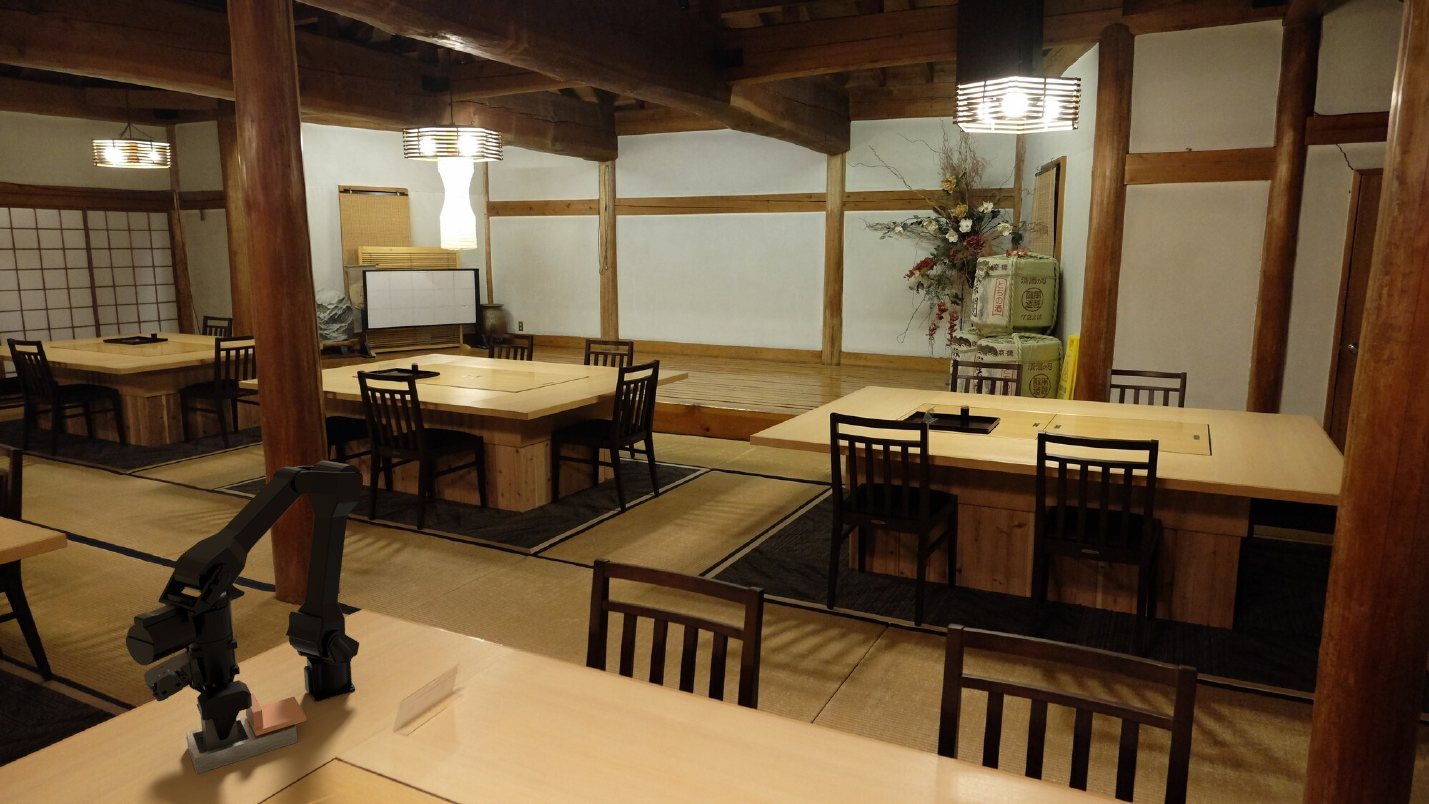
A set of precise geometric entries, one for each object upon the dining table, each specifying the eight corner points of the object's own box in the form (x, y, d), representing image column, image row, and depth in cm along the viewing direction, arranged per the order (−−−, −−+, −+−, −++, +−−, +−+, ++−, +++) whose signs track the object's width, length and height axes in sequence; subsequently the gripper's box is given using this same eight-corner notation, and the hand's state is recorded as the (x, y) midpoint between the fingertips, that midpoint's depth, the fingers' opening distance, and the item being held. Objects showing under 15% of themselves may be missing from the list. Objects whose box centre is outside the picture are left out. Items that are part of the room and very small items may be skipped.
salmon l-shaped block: (294, 700, 138) (293, 680, 138) (306, 720, 133) (304, 699, 132) (245, 715, 134) (244, 694, 133) (255, 736, 129) (253, 714, 128)
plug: (233, 738, 132) (229, 691, 130) (239, 751, 129) (234, 702, 127) (203, 748, 129) (199, 699, 128) (208, 760, 126) (203, 711, 125)
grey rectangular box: (284, 718, 138) (283, 704, 138) (297, 742, 132) (296, 727, 132) (187, 747, 130) (186, 732, 129) (196, 774, 124) (195, 758, 123)
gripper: (137, 625, 128) (148, 721, 131) (154, 677, 114) (165, 783, 117) (222, 606, 135) (231, 697, 138) (248, 653, 120) (257, 754, 123)
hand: (220, 731), depth 129 cm, fingers open, 5 cm apart
